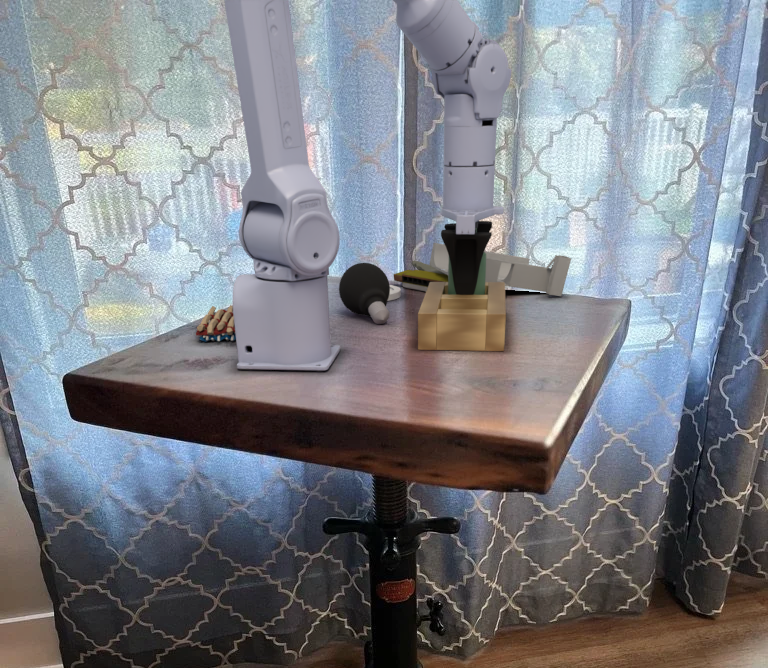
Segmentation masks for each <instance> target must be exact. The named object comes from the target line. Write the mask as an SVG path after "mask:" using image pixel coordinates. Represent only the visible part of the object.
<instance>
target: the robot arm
mask: <svg viewBox="0 0 768 668" xmlns="http://www.w3.org/2000/svg"><path fill="white" fill-rule="evenodd" d="M392 2H394V3H395V4H396V11H395V12H396V13H395V19H396V21H395V22H396V25H397V27H398V28H399V30H400V31H401V32H402V33H403V34H404V36H405V37H406V38H407V40H408V41H409V43H411V44H412V45H413V47H414V48H415V49H416V51H417V52H418V53H419V54H420V56H421V57H422V58H423V59H424V60H425V62H426V63H427V64H428V65H427V67H428V68H429V70H430V72H431V80H432V85H433V88H434V90H435V91H434V92H436V94H437V95H439V96H440V97H441V98H442V99H443V101H444V103H443V169H442V172H443V174H442V175H443V176H442V178H443V179H442V207H440V215H441V216H442V217H444V218H446V219H449V220H450V221H451V220H452V221H453V222H451V223H445V224H444V226H443V227H444V229H441V231H440V237H441V241H442V243H443V244H445V246H446V249H447V252H448V255H449V258H450V263H451V268H452V275H453V282H454V288H455V292H456V294H457V295H474V292H475V289H476V284H477V279H478V274H479V268H480V263H481V259H482V256H483V253H484V251H486V249H487V247H486V246H488V245H489V244H488V243H489V242H490V240H491V239H492V236H493V233H492V231H491V230H492V228H493V221H490V220H485V219H487V218H491V217H493V216H495V215H503V214H504V206H501V205H494V199H495V198H494V195H495V172H496V150H497V126H498V125H497V124H498V119H499V117H500V113H502V108H503V107H502V105H503V99H504V96H505V94H506V92H507V90H508V88H509V85H510V83H511V80H512V79H511V78H512V71H513V70H512V69H511V68H509V61H508V57H507V54H506V52H505V50H504V49H503V47H501V45H500V44H499V42H497V41H496V40H494V39H490V38H484V36H483V34H482V33H481V31H480V27H479V25H478V24H477V23H476V22H475V21H473V20H472V19H471V18H470V16H469V14H468V13H467V12H466V10H465V9H464V7H463V6H462V5H461V4H460V2H459V0H392ZM223 3H224V8H225V15H226V22H227V28H228V34H229V41H230V46H231V52H232V59H233V65H234V71H235V77H236V78H235V79H236V83H237V89H238V95H239V102H240V108H241V113H242V114H241V115H242V120H243V127H244V132H245V139H246V140H245V141H246V145H247V151H248V152H247V153H248V158H249V164H250V174H249V177H248V178H247V180H246V182H245V183H244V185H243V187H242V189H241V191H240V196H241V201H242V214H241V216H240V217H241V218H240V222H239V230H238V236H239V242H240V244H241V247H242V249H243V251H244V253H245V254H246V255H247V256H248V257H249V258H250V259H252V261H253V262H252V263H253V271H254V273H248V274H247V273H245V274H238V276H236V278H235V280H234V284H233V286H232V287H233V288H232V306H233V312H232V313H233V315H234V324H235V334H236V339H235V343H236V352H237V361H238V362H237V364H236V368H237V369H238V370H268V371H269V370H270V371H272V370H273V371H274V370H275V371H319V372H321V371H327V370H329V368H330V367H331V365H332V364H333V362H334V361H335V359H336V358H337V356H338V354H339V353H340V351H341V345H339V344H332V342H331V341H332V339H331V323H330V321H331V320H330V303H329V284H328V276H330V267H331V266H332V265H333V263H334V262H335V260H336V257H337V256H338V253H339V250H340V240H341V239H340V238H341V235H340V230H339V226H338V223H337V221H336V219H335V218H334V216H333V215H332V213H331V211H330V208H329V204H328V198H327V192H326V189H325V188H324V186H323V184H322V183H321V182H320V180H319V179H318V177H317V176H316V175H315V173H314V172H313V170H312V169H311V167H310V165H309V163H310V162H309V154H308V147H307V140H306V130H305V122H304V116H303V115H304V114H303V107H302V106H303V105H302V99H301V91H300V83H299V75H298V67H297V61H296V60H297V59H296V58H297V57H296V52H295V51H296V50H295V43H294V35H293V28H292V19H291V12H290V11H291V10H290V3H289V0H223ZM454 222H455V223H454ZM475 222H478V228H477V232H476V230H475Z"/></svg>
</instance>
